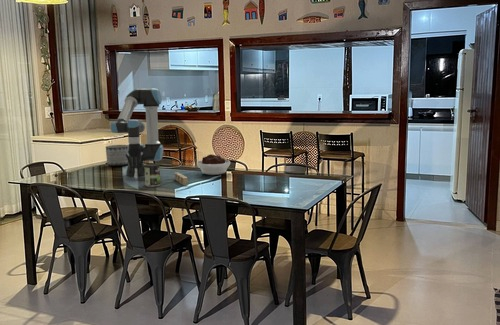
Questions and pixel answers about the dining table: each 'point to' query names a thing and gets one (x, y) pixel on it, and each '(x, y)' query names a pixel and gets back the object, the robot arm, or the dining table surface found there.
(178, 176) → the board
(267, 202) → the dining table surface
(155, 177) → the coffee can
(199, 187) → the dining table surface
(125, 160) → the planter
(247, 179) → the dining table surface
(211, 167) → the bowl of brown food
